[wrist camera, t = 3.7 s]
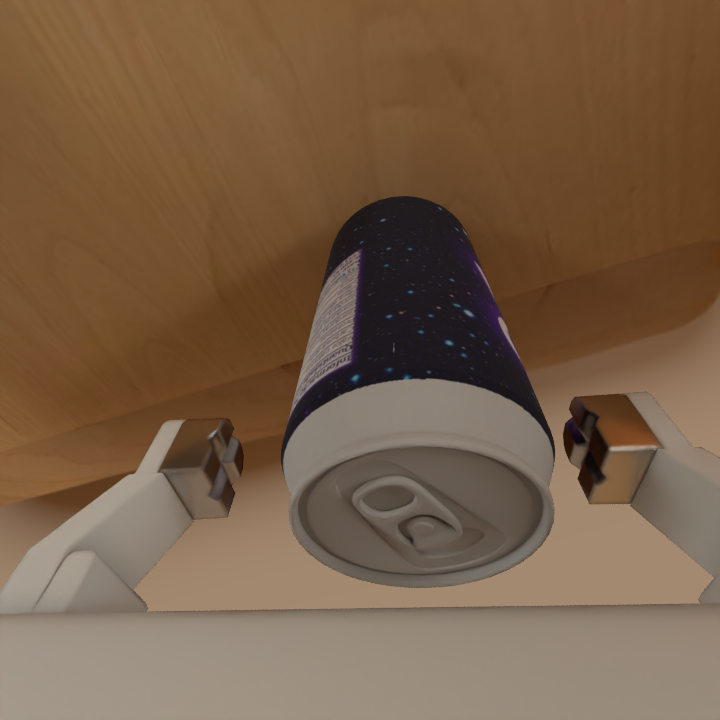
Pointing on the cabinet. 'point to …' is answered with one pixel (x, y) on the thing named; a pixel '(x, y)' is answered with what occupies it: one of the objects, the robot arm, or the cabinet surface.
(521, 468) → the beverage can
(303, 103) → the cabinet surface
